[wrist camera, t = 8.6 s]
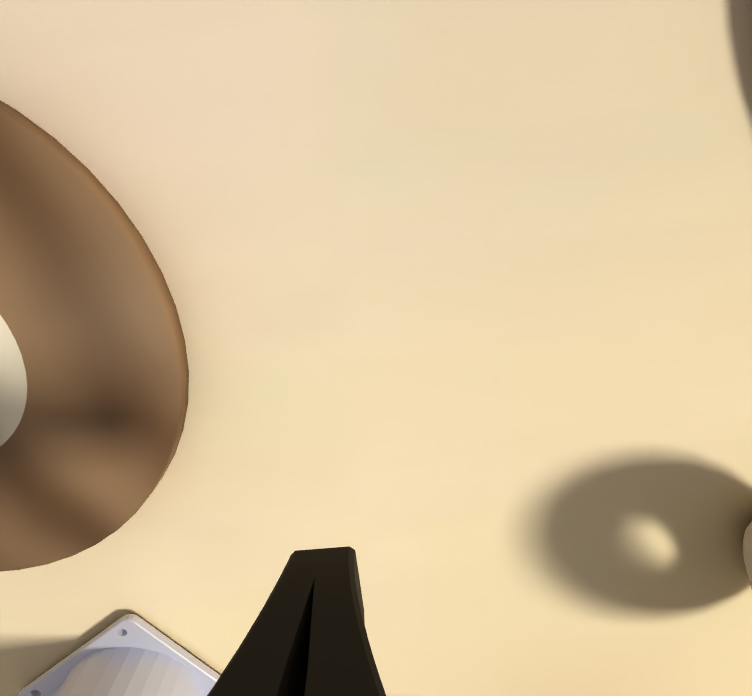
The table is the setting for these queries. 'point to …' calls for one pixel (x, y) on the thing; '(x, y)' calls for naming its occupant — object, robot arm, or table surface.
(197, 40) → the table surface
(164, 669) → the robot arm
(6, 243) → the turntable
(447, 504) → the table surface
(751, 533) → the donut
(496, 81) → the table surface
